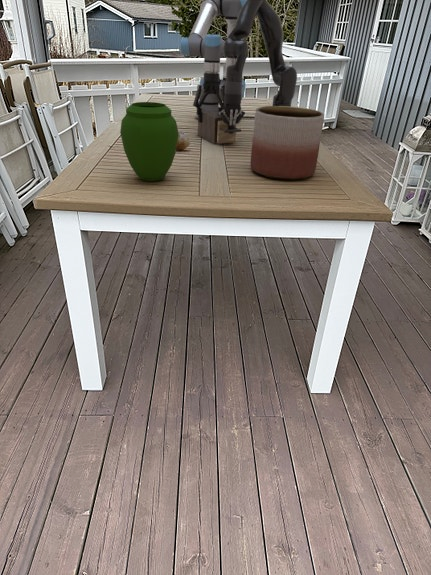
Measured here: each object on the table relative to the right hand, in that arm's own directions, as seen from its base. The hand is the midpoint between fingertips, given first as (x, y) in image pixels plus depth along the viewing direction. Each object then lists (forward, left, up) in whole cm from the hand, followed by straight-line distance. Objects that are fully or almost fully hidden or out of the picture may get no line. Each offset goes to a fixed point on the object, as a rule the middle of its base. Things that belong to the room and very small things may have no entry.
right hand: (230, 133), depth 189 cm
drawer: (+2, -10, -5) cm, 11 cm away
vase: (+41, +45, -6) cm, 61 cm away
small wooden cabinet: (+3, -16, -6) cm, 18 cm away
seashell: (+25, +5, -6) cm, 26 cm away
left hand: (+4, -23, +1) cm, 24 cm away
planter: (-10, +41, -6) cm, 43 cm away
